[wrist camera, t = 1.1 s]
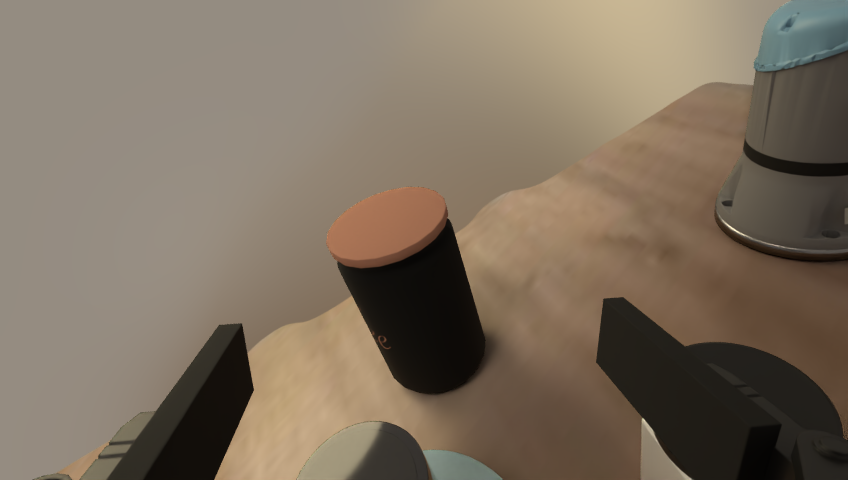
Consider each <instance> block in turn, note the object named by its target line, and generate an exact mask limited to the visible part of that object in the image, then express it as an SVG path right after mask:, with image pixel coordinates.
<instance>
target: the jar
mask: <svg viewBox="0 0 848 480" xmlns="http://www.w3.org/2000/svg"><path fill="white" fill-rule="evenodd" d="M686 348H687V349H689V350H690V351H691V352H692V353H694V354H695V355H696V356H697V357H699V358H700V359H701V360H702V361H704V362H705V363H706V364H710V363H713V364H715V365H717V366H719V367H721V368H723V369H725V370H727V371H729V372H731V373H733V374H734V375H735V376H737V377H738V378H739V379H741V380H742V381H743V382H745V383H746V384H747V386H748V387H751V388H752V389H754V390H755V391H756V392H758V393H759V394H760V397H764V398H765V399H767V400H768V401H769V402H771V403H772V404H773V405H775V406H776V407H777V408H778V409H780V410H781V411H782V412H784V413H785V414H786V415H788V416H789V417H790V418H792V419H793V420H794V421H795V422H797V423H798V424H799V425H801V426H802V427H803V428H805V429H806V430H819V431H824V432H829V433H831V434H834V435H837V436H839V437H842V438H843V429H842V424H841V421H840V417H839V415H838V413H837V411H836V409H835V407H834V405H833V403H832V402H831V401H830V399H829V398H828V396H827V395H826V394H825V393H824V392H823V390H822V389H821V388H820V387H819V386H818V385H817V384H816V383H815V382H814V381H813V380H812V379H810V378H809V377H808V376H807V375H806V374H804V373H803V372H802V371H800V370H799V369H797V368H796V367H794V366H793V365H791V364H789V363H788V362H786V361H784V360H782V359H780V358H778V357H776V356H774V355H772V354H769V353H767V352H764V351H761V350H758V349H755V348H752V347H748V346H744V345H739V344H733V343H724V342H707V343H698V344H693V345H689V346H686ZM640 480H694V479H693V477H692V476H691V475H690V474H689V473H688V472H687V470H686V469H685V468H684V467H683V466H682V464H681V463H680V462H679V461H678V460H677V458H676V457H675V456H674V455H673V454H672V452H671V451H670V450H669V449H668V448H667V446H666V445H665V444H664V443H663V442H662V440H661V439H660V438H659V437H658V436H657V434H656V433H655V432H654V431H653V430H652V428H651V427H650V426H649V425H648V424H647V422H646V421H645V420H644V419H643V418H642V423H641V471H640Z"/></svg>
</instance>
